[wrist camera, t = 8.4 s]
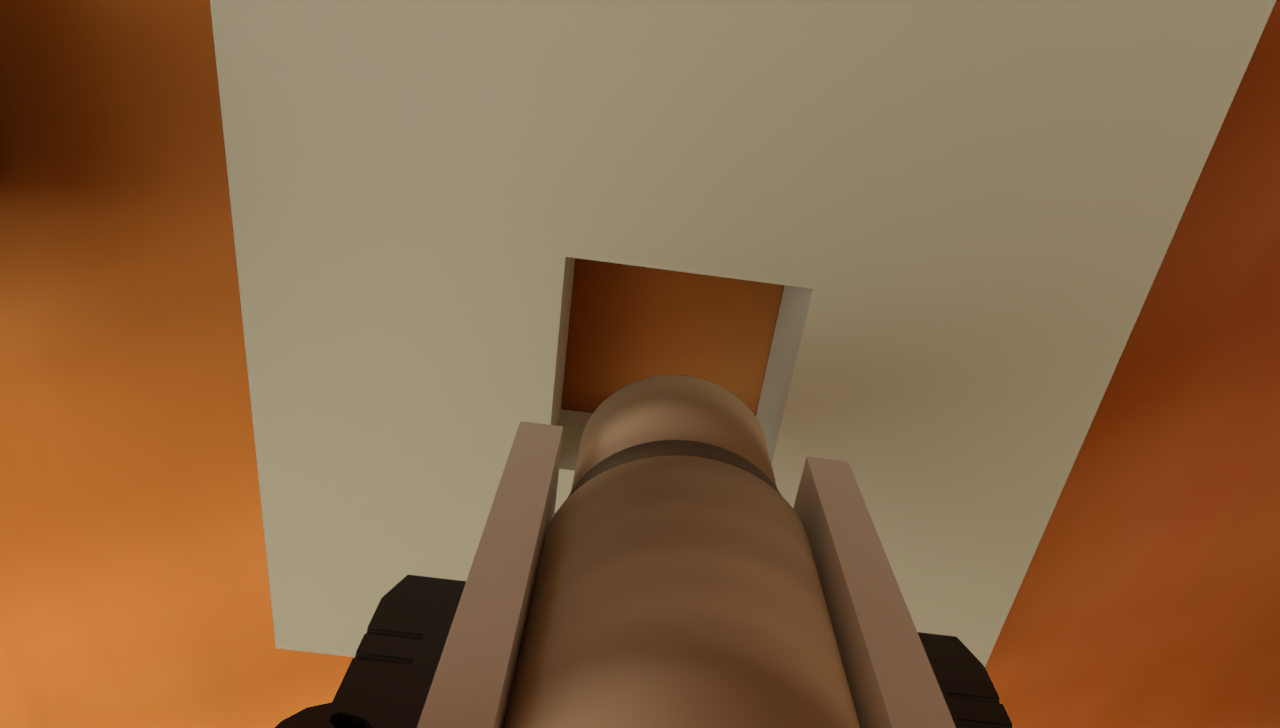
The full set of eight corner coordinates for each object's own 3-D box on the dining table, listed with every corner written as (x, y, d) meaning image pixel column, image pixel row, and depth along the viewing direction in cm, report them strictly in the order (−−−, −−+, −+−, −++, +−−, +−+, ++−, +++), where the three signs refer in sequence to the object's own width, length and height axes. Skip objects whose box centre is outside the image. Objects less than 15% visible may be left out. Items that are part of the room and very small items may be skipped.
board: (318, 577, 25) (275, 648, 22) (268, -160, 16) (190, -191, 14) (927, 648, 26) (959, 725, 23) (1189, -26, 17) (1289, -30, 14)
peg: (555, 534, 17) (349, 1561, 6) (574, 347, 15) (321, 1340, 4) (759, 558, 17) (943, 1606, 6) (803, 376, 15) (1196, 1414, 4)
